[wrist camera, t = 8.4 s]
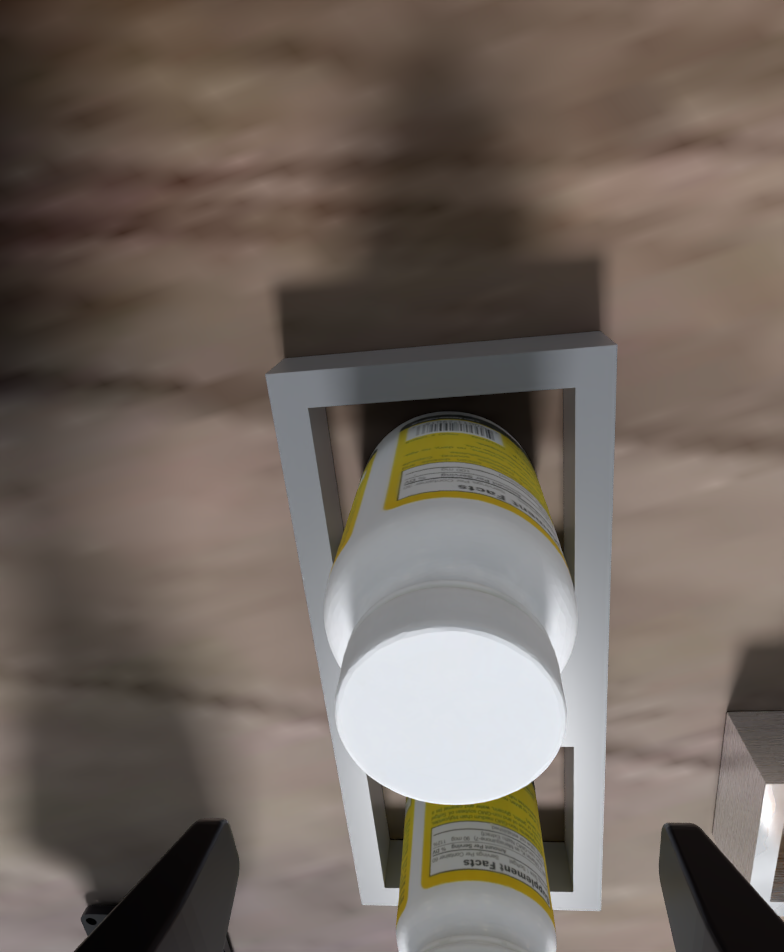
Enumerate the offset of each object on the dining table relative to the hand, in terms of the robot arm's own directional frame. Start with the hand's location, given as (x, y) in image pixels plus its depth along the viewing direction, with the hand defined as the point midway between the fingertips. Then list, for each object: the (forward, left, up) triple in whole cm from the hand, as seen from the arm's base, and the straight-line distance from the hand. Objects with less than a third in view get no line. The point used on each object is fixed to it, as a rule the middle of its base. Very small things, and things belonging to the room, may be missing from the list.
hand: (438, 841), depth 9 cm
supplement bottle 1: (0, 0, -12) cm, 12 cm away
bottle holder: (-6, 0, -12) cm, 13 cm away
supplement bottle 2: (-12, 0, -12) cm, 17 cm away
